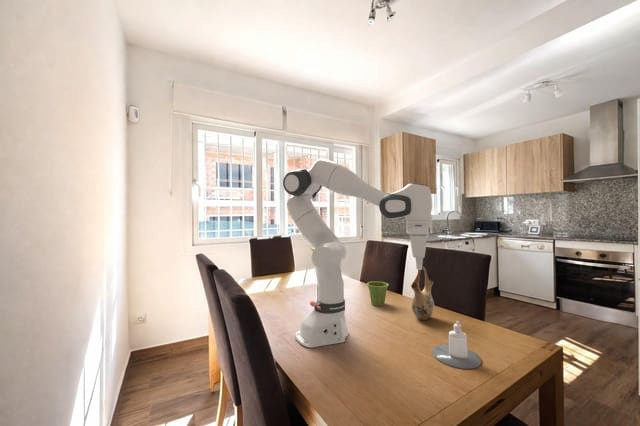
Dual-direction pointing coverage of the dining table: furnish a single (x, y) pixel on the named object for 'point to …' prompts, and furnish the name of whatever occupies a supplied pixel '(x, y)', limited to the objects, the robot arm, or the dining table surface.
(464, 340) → the eye dropper bottle
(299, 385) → the dining table surface
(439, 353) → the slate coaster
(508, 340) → the dining table surface
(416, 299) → the ceramic vessel
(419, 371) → the dining table surface
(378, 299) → the plant pot
